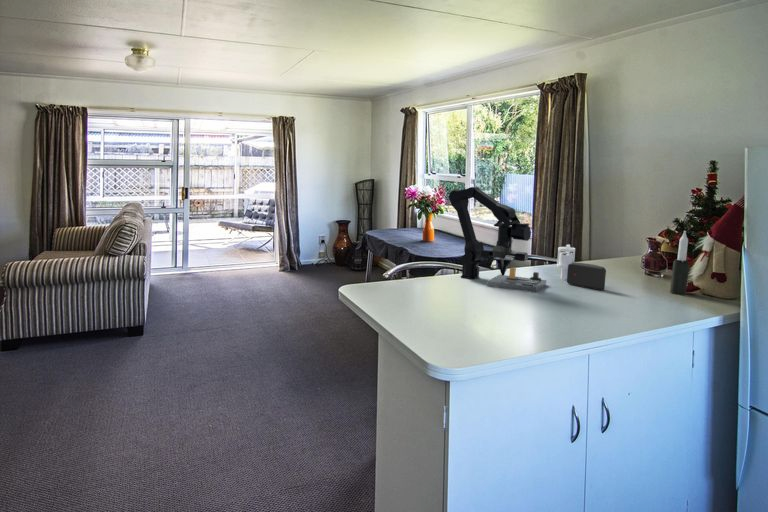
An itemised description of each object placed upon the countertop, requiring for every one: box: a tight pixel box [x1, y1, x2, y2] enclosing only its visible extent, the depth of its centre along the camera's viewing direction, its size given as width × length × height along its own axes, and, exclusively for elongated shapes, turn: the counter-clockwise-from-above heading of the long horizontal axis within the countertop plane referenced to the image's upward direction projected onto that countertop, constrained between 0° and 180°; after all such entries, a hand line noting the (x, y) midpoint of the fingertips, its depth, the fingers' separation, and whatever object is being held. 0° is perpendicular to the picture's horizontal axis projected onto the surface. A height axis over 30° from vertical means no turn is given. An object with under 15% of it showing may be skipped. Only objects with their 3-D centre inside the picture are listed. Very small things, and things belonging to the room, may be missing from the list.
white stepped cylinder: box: [556, 244, 576, 281], centre depth 233 cm, size 7×7×15 cm
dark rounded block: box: [566, 261, 607, 291], centre depth 219 cm, size 16×5×9 cm, turn 42°
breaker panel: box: [486, 271, 547, 293], centre depth 220 cm, size 20×16×5 cm
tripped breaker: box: [506, 267, 518, 280], centre depth 220 cm, size 4×3×5 cm
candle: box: [669, 230, 690, 295], centre depth 210 cm, size 5×5×25 cm
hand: (502, 275), depth 222 cm, fingers closed
